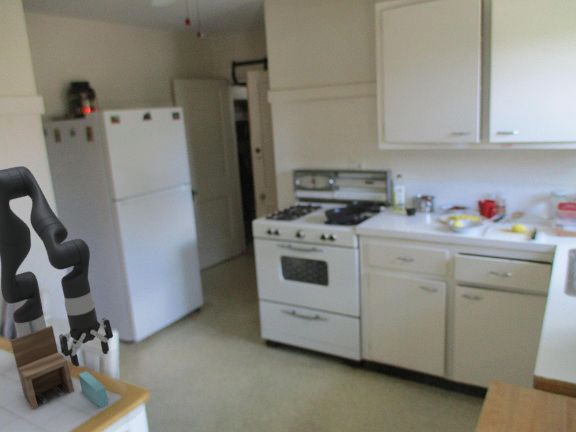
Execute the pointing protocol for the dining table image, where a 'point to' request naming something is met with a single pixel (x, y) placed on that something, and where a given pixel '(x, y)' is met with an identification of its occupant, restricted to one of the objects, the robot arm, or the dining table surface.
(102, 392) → the panel
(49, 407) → the dining table surface
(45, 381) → the walnut shelf
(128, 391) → the dining table surface
